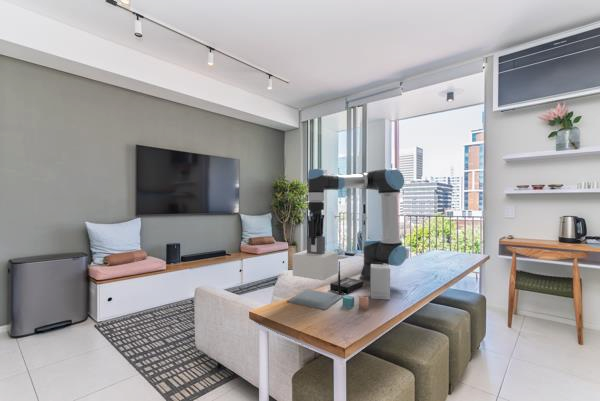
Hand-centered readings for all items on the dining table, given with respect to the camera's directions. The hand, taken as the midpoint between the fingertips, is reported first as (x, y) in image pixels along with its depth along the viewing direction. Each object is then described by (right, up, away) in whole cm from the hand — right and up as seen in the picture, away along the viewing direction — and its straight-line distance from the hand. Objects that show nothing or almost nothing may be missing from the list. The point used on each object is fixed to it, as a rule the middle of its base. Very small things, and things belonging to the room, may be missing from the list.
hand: (315, 250), depth 139 cm
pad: (0, -23, 0) cm, 23 cm away
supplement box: (+32, -23, +4) cm, 40 cm away
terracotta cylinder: (+20, -23, -12) cm, 33 cm away
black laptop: (+16, -24, +16) cm, 33 cm away
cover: (0, -11, 0) cm, 11 cm away
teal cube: (+14, -23, -8) cm, 28 cm away
